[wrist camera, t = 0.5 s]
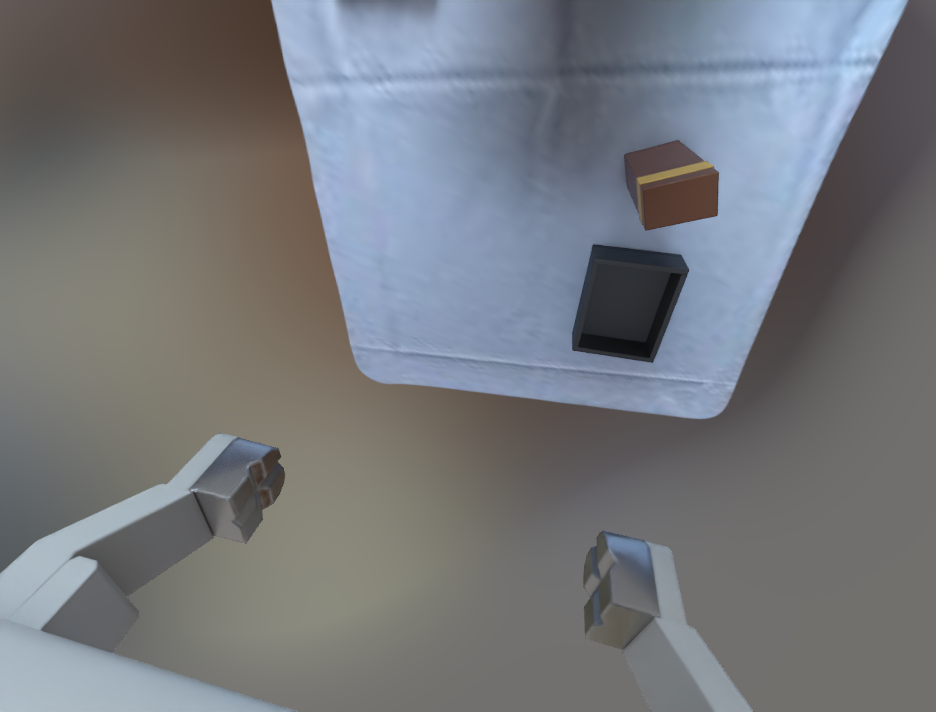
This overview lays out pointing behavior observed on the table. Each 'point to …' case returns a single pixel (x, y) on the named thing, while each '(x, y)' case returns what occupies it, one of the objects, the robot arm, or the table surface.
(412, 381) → the table surface
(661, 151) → the chocolate box
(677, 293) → the tray
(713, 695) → the robot arm
